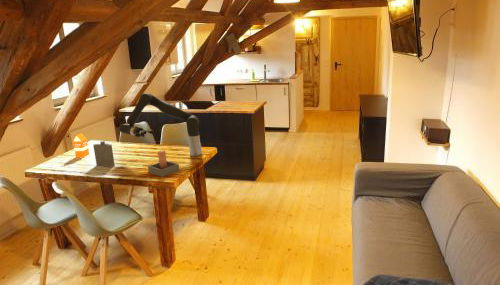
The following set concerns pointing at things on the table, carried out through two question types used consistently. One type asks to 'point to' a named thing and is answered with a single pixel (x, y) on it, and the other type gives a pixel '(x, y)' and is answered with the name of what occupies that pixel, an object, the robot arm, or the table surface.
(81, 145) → the orange juice
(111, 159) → the hip flask
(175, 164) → the tote
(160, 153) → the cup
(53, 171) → the table surface
